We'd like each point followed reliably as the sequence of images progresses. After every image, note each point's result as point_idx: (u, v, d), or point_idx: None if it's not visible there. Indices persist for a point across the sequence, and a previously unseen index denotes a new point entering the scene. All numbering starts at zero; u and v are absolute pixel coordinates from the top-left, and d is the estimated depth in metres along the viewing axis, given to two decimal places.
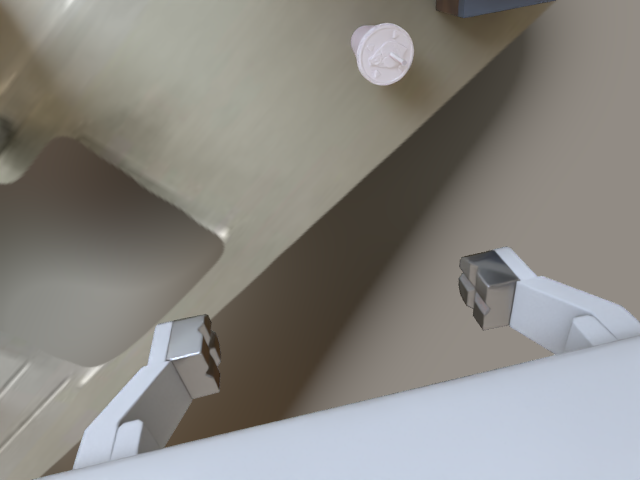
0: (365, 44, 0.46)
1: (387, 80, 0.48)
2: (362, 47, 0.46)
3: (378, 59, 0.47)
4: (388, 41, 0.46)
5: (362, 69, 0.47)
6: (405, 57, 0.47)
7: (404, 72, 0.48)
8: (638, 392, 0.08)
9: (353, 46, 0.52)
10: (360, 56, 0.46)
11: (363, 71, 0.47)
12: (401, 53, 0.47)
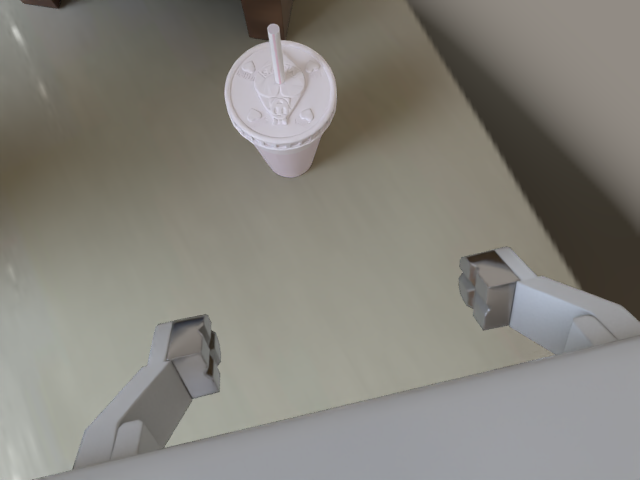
0: (244, 124, 0.23)
1: (326, 98, 0.24)
2: (248, 129, 0.23)
3: (278, 104, 0.23)
4: (254, 81, 0.24)
5: (287, 139, 0.23)
6: (296, 57, 0.24)
7: (323, 64, 0.24)
8: (638, 392, 0.08)
9: (278, 167, 0.30)
10: (262, 137, 0.23)
11: (292, 138, 0.23)
12: (284, 61, 0.24)
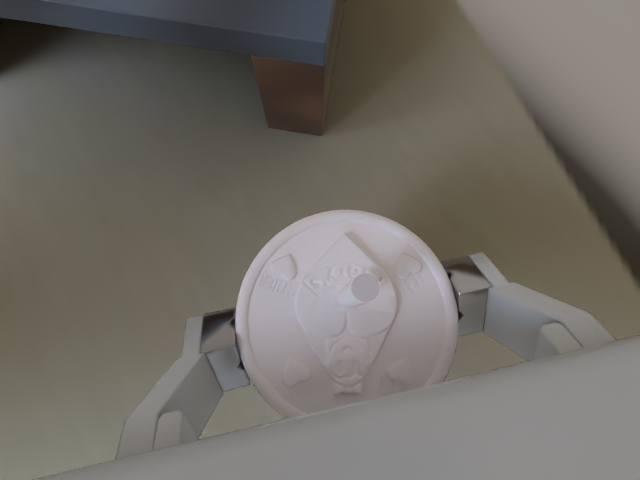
0: (275, 393, 0.11)
1: (439, 334, 0.12)
2: (284, 405, 0.11)
3: (345, 355, 0.11)
4: (295, 300, 0.12)
5: None
6: (375, 246, 0.12)
7: (429, 260, 0.12)
8: (638, 392, 0.08)
9: None
10: None
11: None
12: (354, 259, 0.12)
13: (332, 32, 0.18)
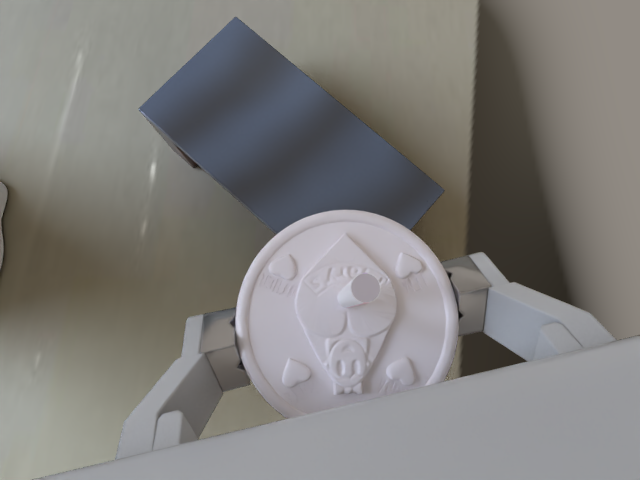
0: (275, 394, 0.11)
1: (439, 334, 0.12)
2: (284, 405, 0.11)
3: (345, 355, 0.11)
4: (296, 300, 0.12)
5: None
6: (375, 246, 0.12)
7: (429, 260, 0.12)
8: (638, 392, 0.08)
9: None
10: None
11: None
12: (355, 260, 0.12)
13: None
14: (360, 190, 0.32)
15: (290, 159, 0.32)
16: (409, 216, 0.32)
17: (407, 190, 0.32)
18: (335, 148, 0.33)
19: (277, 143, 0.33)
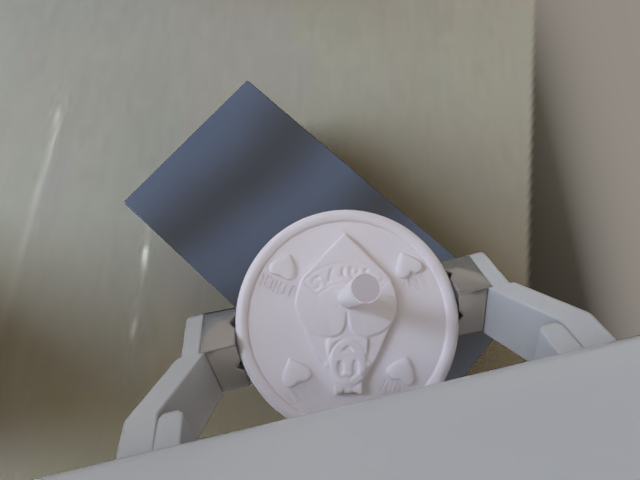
0: (275, 394, 0.11)
1: (439, 334, 0.12)
2: (284, 406, 0.11)
3: (345, 355, 0.11)
4: (296, 300, 0.12)
5: None
6: (375, 246, 0.12)
7: (429, 260, 0.12)
8: (638, 392, 0.08)
9: None
10: None
11: None
12: (354, 260, 0.12)
13: None
14: None
15: None
16: (472, 345, 0.25)
17: None
18: None
19: None
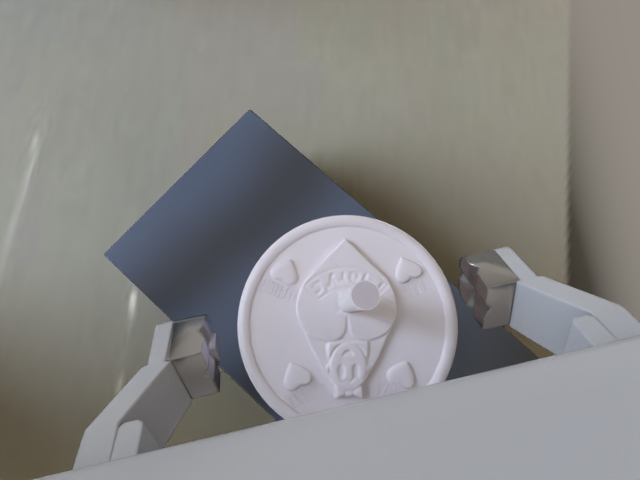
0: (277, 397, 0.12)
1: (439, 338, 0.12)
2: (286, 409, 0.12)
3: (346, 359, 0.12)
4: (297, 305, 0.12)
5: None
6: (375, 251, 0.12)
7: (428, 265, 0.12)
8: (638, 392, 0.08)
9: None
10: None
11: None
12: (355, 264, 0.12)
13: None
14: None
15: None
16: None
17: None
18: None
19: None
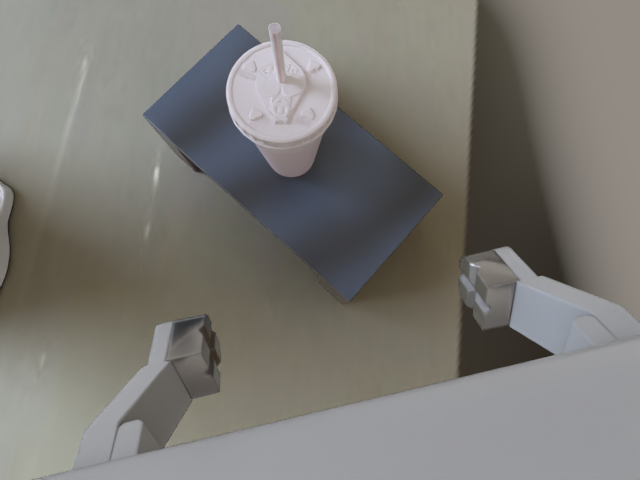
0: (245, 123, 0.23)
1: (327, 97, 0.24)
2: (249, 129, 0.23)
3: (279, 104, 0.23)
4: (256, 80, 0.24)
5: (288, 138, 0.23)
6: (297, 57, 0.24)
7: (324, 63, 0.24)
8: (638, 392, 0.08)
9: (279, 166, 0.30)
10: (263, 136, 0.23)
11: (293, 137, 0.23)
12: (285, 61, 0.24)
13: None
14: (360, 194, 0.33)
15: None
16: (408, 220, 0.32)
17: (405, 194, 0.33)
18: (335, 153, 0.33)
19: None
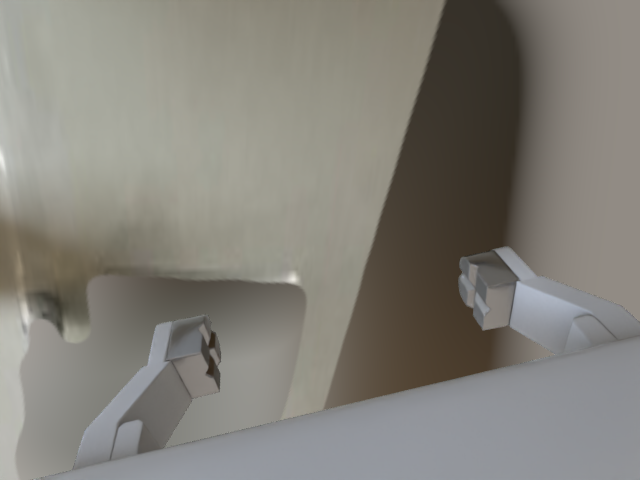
0: None
1: None
2: None
3: None
4: None
5: None
6: None
7: None
8: (638, 392, 0.08)
9: None
10: None
11: None
12: None
13: None
14: None
15: None
16: None
17: None
18: None
19: None
